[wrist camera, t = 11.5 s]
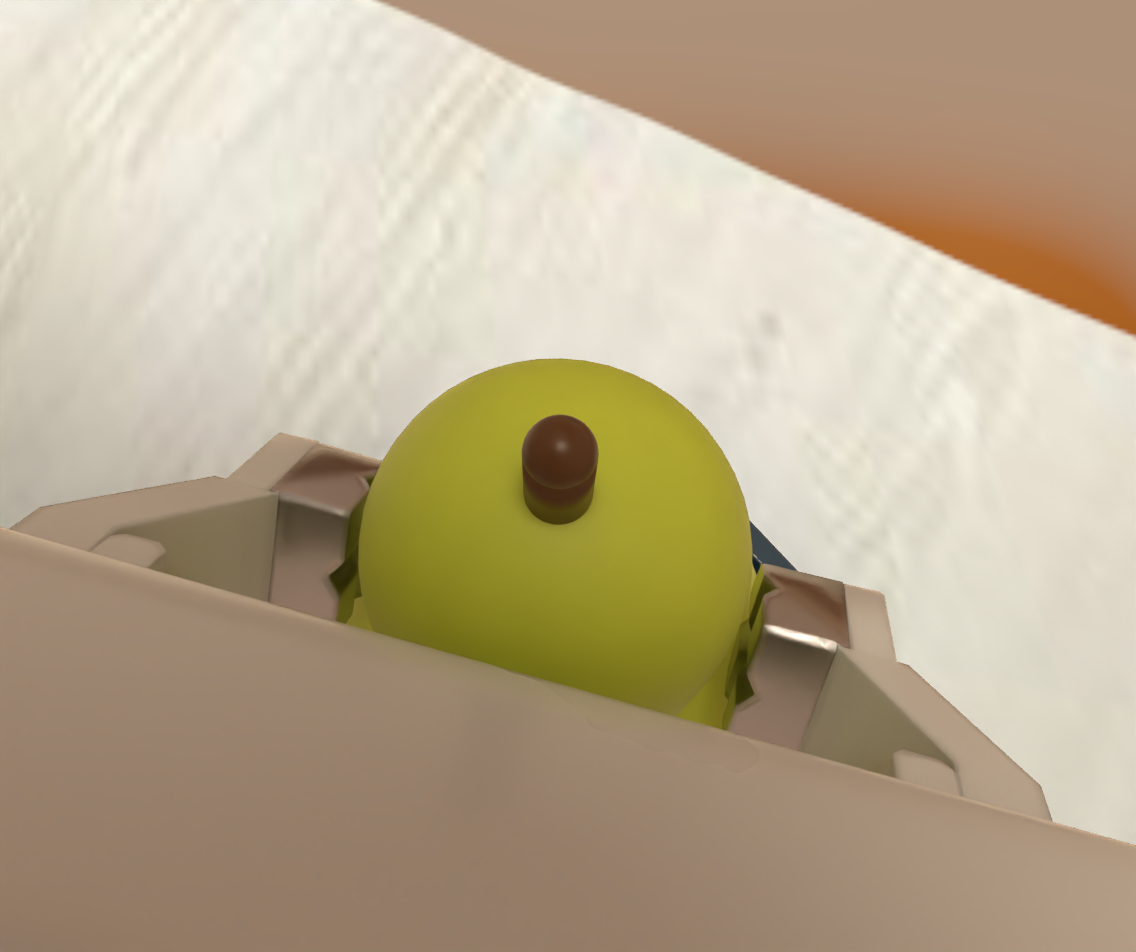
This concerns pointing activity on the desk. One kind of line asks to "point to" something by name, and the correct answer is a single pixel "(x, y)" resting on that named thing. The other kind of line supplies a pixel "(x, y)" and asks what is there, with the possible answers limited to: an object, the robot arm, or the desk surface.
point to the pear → (563, 536)
